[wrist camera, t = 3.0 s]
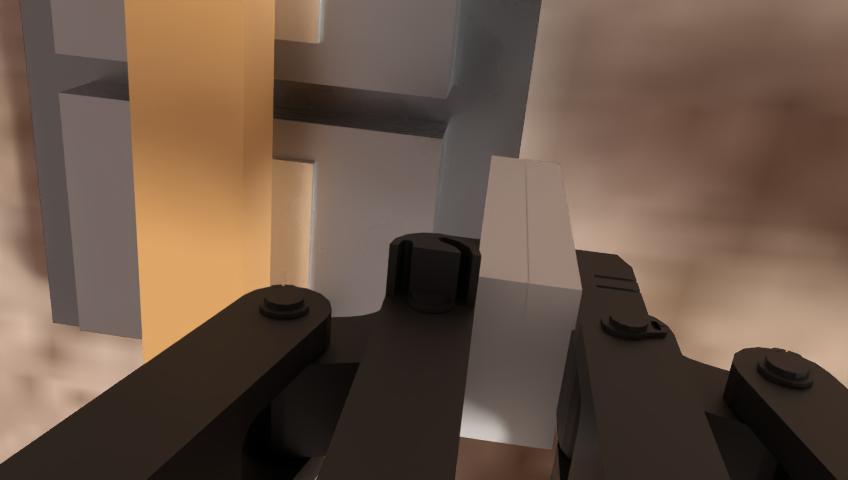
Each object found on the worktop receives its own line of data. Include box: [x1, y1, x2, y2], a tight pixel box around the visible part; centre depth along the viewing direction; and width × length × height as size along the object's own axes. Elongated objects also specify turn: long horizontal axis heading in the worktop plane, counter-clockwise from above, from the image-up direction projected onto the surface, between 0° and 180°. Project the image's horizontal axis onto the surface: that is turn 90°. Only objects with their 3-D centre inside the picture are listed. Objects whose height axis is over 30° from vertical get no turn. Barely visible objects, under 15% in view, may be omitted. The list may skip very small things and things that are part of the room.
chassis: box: [20, 0, 542, 339], centre depth 20 cm, size 20×14×5 cm
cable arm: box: [124, 0, 275, 364], centre depth 16 cm, size 20×4×2 cm, turn 175°
